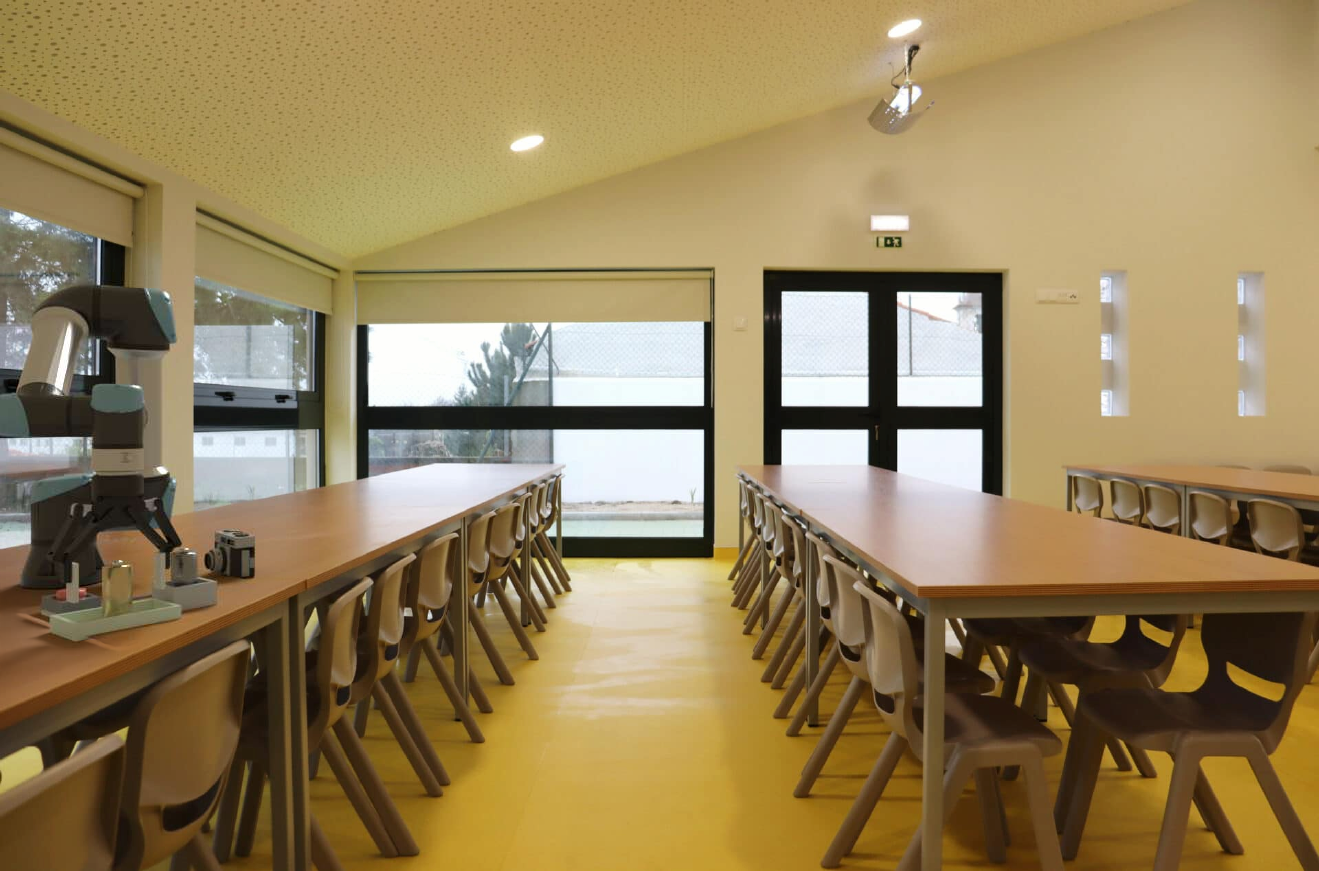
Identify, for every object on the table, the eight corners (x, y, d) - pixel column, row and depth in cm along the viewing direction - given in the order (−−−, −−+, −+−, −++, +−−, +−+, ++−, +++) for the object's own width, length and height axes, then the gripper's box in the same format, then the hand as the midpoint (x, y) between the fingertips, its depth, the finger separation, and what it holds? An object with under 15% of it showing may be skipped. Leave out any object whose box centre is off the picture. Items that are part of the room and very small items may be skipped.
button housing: (37, 615, 147) (37, 596, 147) (79, 608, 152) (79, 590, 152) (58, 623, 142) (58, 603, 142) (101, 616, 147) (101, 597, 147)
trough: (49, 632, 136) (49, 615, 136) (155, 613, 150) (155, 598, 150) (74, 641, 131) (74, 624, 131) (181, 621, 145) (181, 605, 145)
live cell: (97, 623, 140) (97, 561, 140) (125, 618, 144) (125, 558, 143) (109, 627, 138) (109, 564, 137) (137, 622, 141) (137, 560, 141)
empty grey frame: (105, 606, 154) (105, 601, 154) (158, 597, 163) (158, 592, 162) (124, 612, 150) (124, 607, 150) (178, 603, 158) (178, 598, 158)
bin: (152, 609, 153) (152, 582, 153) (195, 601, 160) (195, 576, 160) (173, 615, 149) (173, 588, 149) (217, 607, 156) (217, 581, 155)
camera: (195, 573, 188) (196, 530, 187) (233, 568, 194) (233, 527, 193) (217, 582, 178) (217, 537, 178) (256, 577, 184) (256, 533, 184)
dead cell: (168, 604, 154) (167, 548, 154) (193, 600, 157) (192, 545, 157) (175, 609, 151) (174, 552, 151) (201, 604, 154) (200, 549, 154)
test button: (52, 601, 147) (52, 590, 147) (79, 597, 150) (79, 586, 150) (62, 605, 144) (62, 593, 144) (90, 600, 148) (90, 589, 148)
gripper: (41, 478, 128) (41, 611, 128) (202, 470, 148) (202, 585, 149) (22, 475, 132) (22, 604, 132) (181, 468, 152) (181, 580, 153)
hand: (117, 594), depth 140 cm, fingers open, 13 cm apart
